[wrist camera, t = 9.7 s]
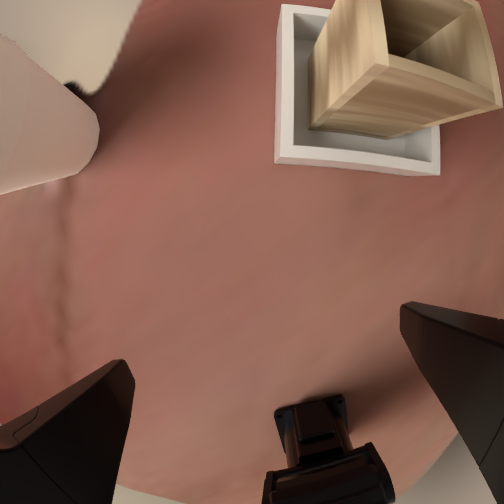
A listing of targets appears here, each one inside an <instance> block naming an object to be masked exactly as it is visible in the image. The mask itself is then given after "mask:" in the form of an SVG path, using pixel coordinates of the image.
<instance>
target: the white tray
mask: <svg viewBox="0 0 504 504" xmlns="http://www.w3.org/2000/svg"><path fill="white" fill-rule="evenodd" d="M330 12H331V10H329V9H323V8H316V7H308V6H299V5H289V4H282V5H281V11H280V17H279V22H278V28H277V34H276V97H275V141H274V164H290V165H306V166H320V167H332V168H343V169H353V170H362V171H371V172H380V173H387V174H395V175H402V176H433V175H440V129H439V125H435V126H432V127H429V128H425V129H422V130H418V131H415V132H412V133H408V134H405V135H402V136H399V137H396V138H392V139H389V140H384V139H378V138H372V137H365V136H359V135H351V134H344V133H336V132H327V131H318V130H308V58H309V56H310V54H311V52H312V50H313V47H314V45H315V43H316V41H317V39H318V37H319V35H320V33H321V30H322V28H323V26H324V24H325V22H326V20H327V18H328V16H329V14H330Z"/></svg>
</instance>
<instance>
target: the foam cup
mask: <svg viewBox="0 0 504 504" xmlns="http://www.w3.org/2000/svg"><path fill="white" fill-rule="evenodd" d="M99 131H100V128H99V124H98V120H97V116H96V113H95V112H94V111H93V110H92V109H91V108H90V107H89V106H88V105H87V104H85V103H84V102H83V101H82V100H81V99H80V98H78V97H77V96H76V95H75V94H73V93H72V92H71V91H70V90H69V89H67V88H66V87H65V86H64V85H62V84H61V83H60V82H59V81H57V80H56V79H55V78H54V77H53V76H51V75H50V74H49V73H47V72H46V71H45V70H44V69H43V68H41V67H40V66H39V65H38V64H36V63H35V62H34V61H33V60H31V59H30V58H29V57H28V56H27V54H26V53H25V52H24V51H23V50H22V49H21V48H20V47H19V46H18V45H17V44H16V42H15V41H14V40H12V39H10V38H8V37H6V36H4V35H2V34H0V195H1V194H5V193H8V192H11V191H15V190H18V189H22V188H26V187H29V186H33V185H37V184H41V183H45V182H49V181H53V180H57V179H61V178H65V177H68V176H72V175H75V174H77V173H79V172H80V171H81V170H82V169H83V168H84V167H85V166H86V165H87V164H88V163H89V162H90V160H91V158H92V156H93V154H94V152H95V150H96V148H97V146H98V138H99Z"/></svg>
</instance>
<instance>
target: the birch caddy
mask: <svg viewBox="0 0 504 504" xmlns="http://www.w3.org/2000/svg"><path fill="white" fill-rule="evenodd" d="M501 108H503V103H502V95H501V89H500V83H499V77H498V72H497V67H496V62H495V57H494V53H493V49H492V45H491V41H490V37H489V33H488V30H487V26H486V23H485V20H484V17H483V13H482V10H481V8H480V5H479V3H478V2H477V1H475V0H336V1H335V3H334V5H333V7H332V10H331V12H330V14H329V16H328V18H327V20H326V22H325V24H324V26H323V28H322V30H321V33H320V35H319V37H318V39H317V41H316V43H315V45H314V47H313V50H312V52H311V54H310V56H309V58H308V130H318V131H327V132H336V133H344V134H351V135H359V136H365V137H372V138H378V139H384V140H389V139H392V138H396V137H399V136H402V135H405V134H408V133H412V132H415V131H418V130H422V129H425V128H429V127H432V126H435V125H439V124H443V123H446V122H450V121H453V120H457V119H461V118H465V117H468V116H472V115H476V114H480V113H484V112H488V111H492V110H496V109H501Z"/></svg>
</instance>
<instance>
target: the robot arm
mask: <svg viewBox="0 0 504 504" xmlns="http://www.w3.org/2000/svg"><path fill="white" fill-rule="evenodd" d="M400 332H401V335H402V336H403V338H404V340H405V342H406V344H407V346H408V348H409V350H410V352H411V354H412V356H413V358H414V360H415V362H416V364H417V366H418V367H419V369H420V371H421V372H422V374H423V375H424V377H425V378H426V380H427V381H428V383H429V385H430V386H431V388H432V389H433V391H434V392H435V394H436V395H437V397H438V399H439V400H440V402H441V403H442V405H443V407H444V408H445V410H446V411H447V413H448V415H449V416H450V418H451V420H452V421H453V423H454V425H455V426H456V428H457V430H458V431H459V433H460V435H461V436H462V438H463V440H464V441H465V443H466V445H467V447H468V448H469V450H470V452H471V454H472V456H473V457H474V459H475V461H476V463H477V465H478V466H479V469H480V471H481V473H482V474H483V476H484V478H485V480H486V482H487V484H488V486H489V488H490V490H491V492H492V494H493V496H494V498H495V500H496V502H497V504H504V319H499V320H498V318H493V317H488V316H483V315H478V314H473V313H468V312H463V311H458V310H453V309H448V308H443V307H438V306H433V305H428V304H423V303H418V302H413V301H411V302H408V303H404V304H402V305H401V307H400ZM134 391H135V380H134V377H133V375H132V373H131V371H130V369H129V367H128V365H127V363H126V361H125V360H123V359H118V360H112V361H110V362H109V363H107V364H106V365H104V366H102V367H101V368H99V369H97V370H96V371H94V372H93V373H91V374H89V375H88V376H86V377H84V378H83V379H81V380H80V381H78V382H76V383H75V384H73V385H71V386H70V387H68V388H66V389H65V390H63V391H61V392H60V393H58V394H56V395H55V396H53V397H52V398H50V399H48V400H47V401H45V402H43V403H42V404H40V406H36V407H35V408H33V409H31V410H30V411H28V412H26V413H24V414H23V415H21V416H19V417H17V418H15V419H13V420H11V421H10V422H8V423H6V424H4V425H2V426H0V504H112V500H113V495H114V490H115V485H116V480H117V475H118V471H119V466H120V461H121V457H122V453H123V448H124V444H125V440H126V436H127V432H128V428H129V423H130V418H131V411H132V404H133V397H134ZM338 400H340V401H338ZM278 414H281V415H278ZM274 418H275V422H276V425H277V429H278V432H279V436H280V439H281V442H282V446H283V449H284V452H285V454H286V457H287V464H288V468H287V469H283V470H278V471H269V472H267V474H266V479H265V482H264V489H263V497H262V504H392V503H394V502H395V492H394V488H393V484H392V481H391V478H390V475H389V473H388V471H387V468H386V466H385V465H384V463H383V461H382V459H381V458H380V456H379V454H378V452H377V451H376V449H375V447H374V445H373V444H372V442H369V443H366V444H365V445H364V446H361V447H358V448H356V449H353V446H352V443H351V441H350V438H349V435H348V428H347V415H346V403H345V398H344V396H343V395H337V396H334V397H330V398H326V399H322V400H319V401H314V402H310V403H306V404H302V405H297V406H293V407H288V408H283V409H279V410H276V411H275V412H274Z"/></svg>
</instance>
